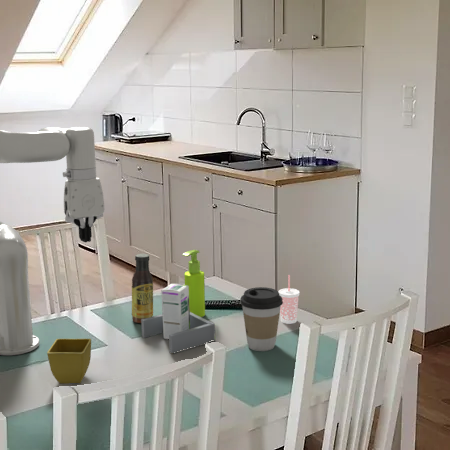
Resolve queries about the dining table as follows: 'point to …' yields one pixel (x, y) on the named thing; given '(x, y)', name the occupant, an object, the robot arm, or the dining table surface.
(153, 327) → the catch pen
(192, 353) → the dining table surface
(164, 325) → the syrup box
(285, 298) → the beverage cup
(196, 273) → the soap dispenser
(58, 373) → the flower pot
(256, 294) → the coffee cup
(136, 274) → the sauce bottle
